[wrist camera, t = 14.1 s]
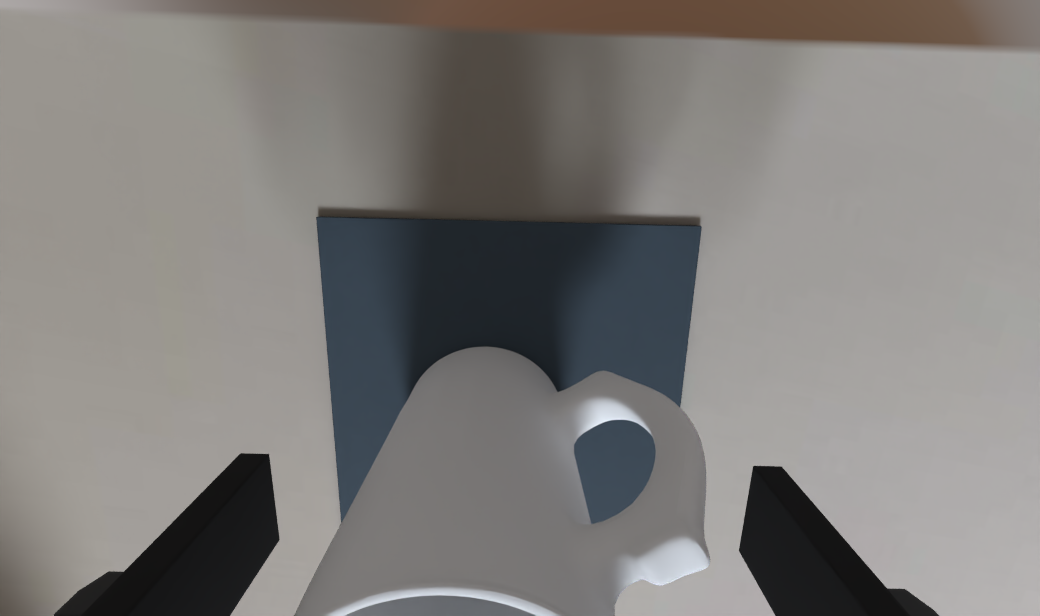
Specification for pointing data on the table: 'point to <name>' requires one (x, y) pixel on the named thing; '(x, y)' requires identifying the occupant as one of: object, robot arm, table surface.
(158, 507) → the table surface
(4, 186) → the table surface
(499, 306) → the mat
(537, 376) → the mug
